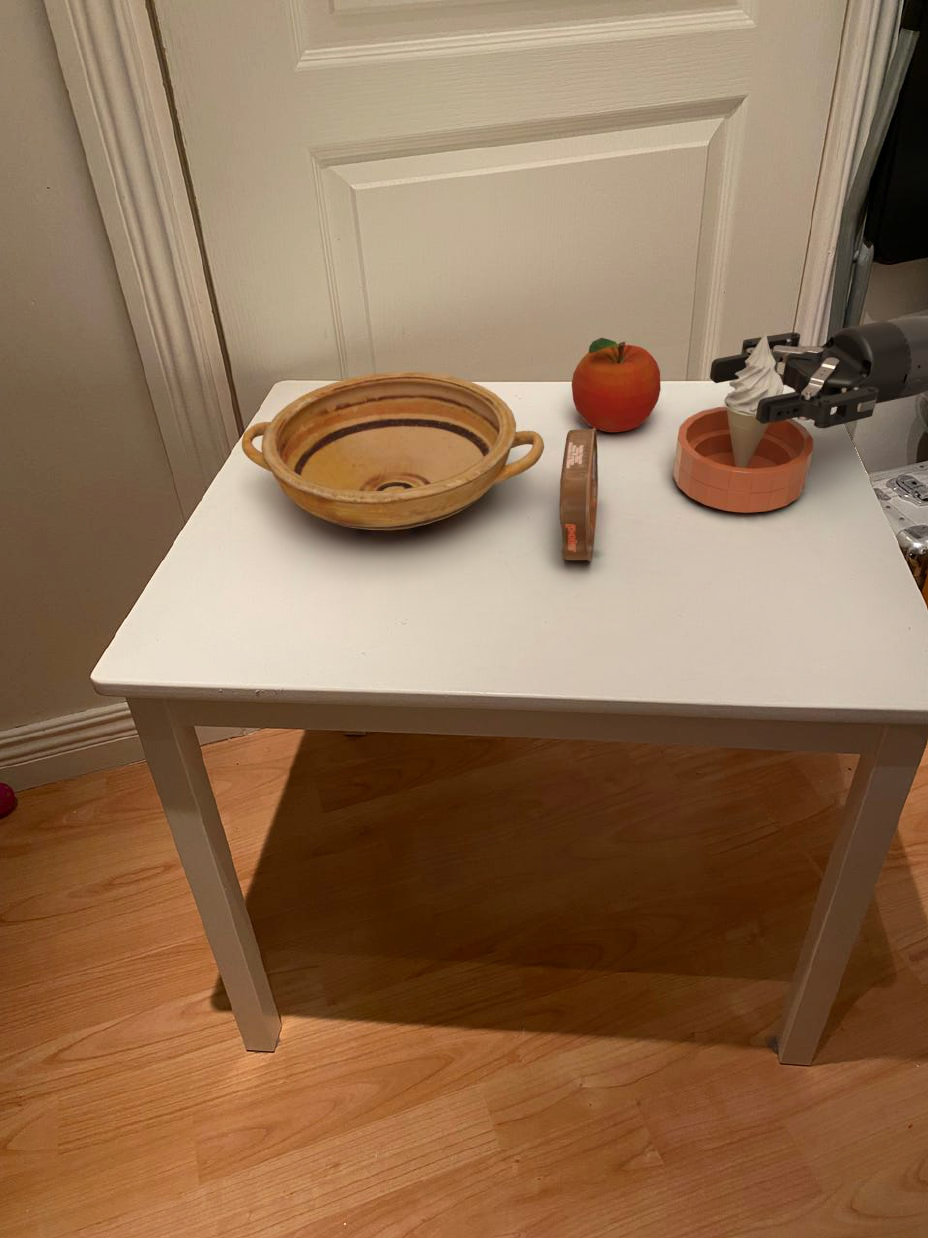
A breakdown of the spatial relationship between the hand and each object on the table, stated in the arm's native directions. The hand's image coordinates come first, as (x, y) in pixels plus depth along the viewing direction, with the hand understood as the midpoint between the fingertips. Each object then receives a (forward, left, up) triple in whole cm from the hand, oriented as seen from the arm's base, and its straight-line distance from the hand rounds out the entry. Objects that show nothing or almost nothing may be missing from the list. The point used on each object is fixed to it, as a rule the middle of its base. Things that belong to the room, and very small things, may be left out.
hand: (734, 391), depth 86 cm
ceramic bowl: (+27, +17, -11) cm, 34 cm away
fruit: (+15, -7, -11) cm, 19 cm away
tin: (+9, +13, -11) cm, 19 cm away
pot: (-1, -2, -10) cm, 10 cm away
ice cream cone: (-1, -2, -10) cm, 10 cm away
